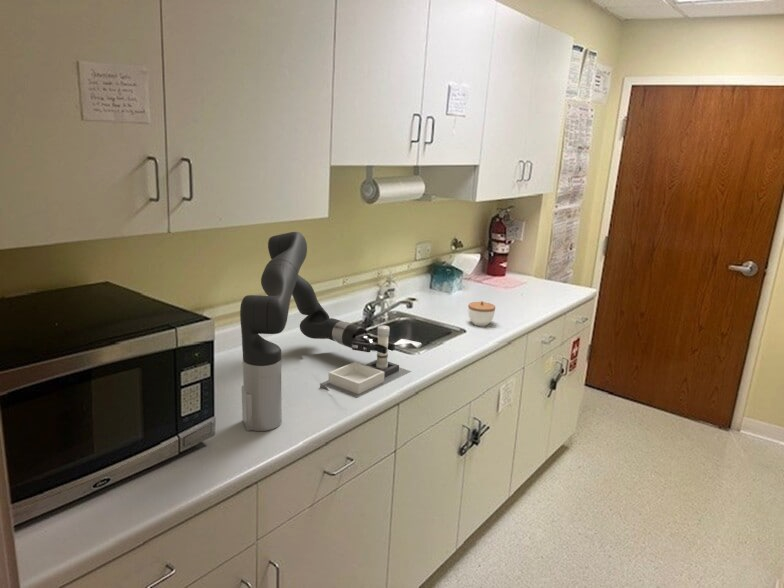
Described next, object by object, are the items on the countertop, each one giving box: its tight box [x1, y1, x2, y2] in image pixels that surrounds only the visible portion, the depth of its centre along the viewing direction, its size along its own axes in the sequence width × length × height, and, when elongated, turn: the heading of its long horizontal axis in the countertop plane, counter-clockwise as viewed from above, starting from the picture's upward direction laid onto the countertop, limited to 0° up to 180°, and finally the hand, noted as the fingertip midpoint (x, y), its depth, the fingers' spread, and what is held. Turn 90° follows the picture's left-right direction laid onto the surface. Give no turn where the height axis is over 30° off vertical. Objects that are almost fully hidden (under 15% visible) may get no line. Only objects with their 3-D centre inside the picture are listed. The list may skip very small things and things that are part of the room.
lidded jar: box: [467, 300, 496, 327], centre depth 234 cm, size 11×11×9 cm
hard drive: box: [393, 338, 422, 349], centre depth 204 cm, size 2×8×12 cm
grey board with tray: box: [319, 359, 412, 399], centre depth 175 cm, size 26×14×4 cm, turn 143°
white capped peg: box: [376, 325, 391, 370], centre depth 178 cm, size 4×4×14 cm
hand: (389, 349), depth 177 cm, fingers closed on white capped peg, 3 cm apart
